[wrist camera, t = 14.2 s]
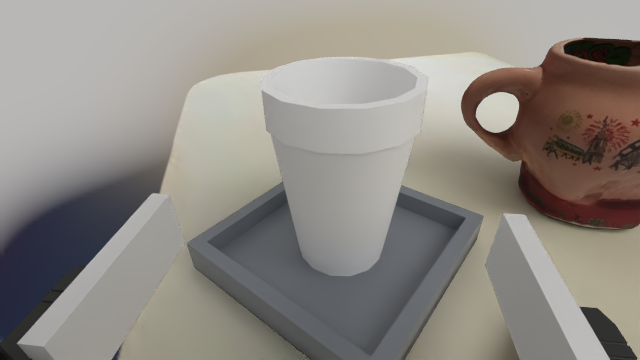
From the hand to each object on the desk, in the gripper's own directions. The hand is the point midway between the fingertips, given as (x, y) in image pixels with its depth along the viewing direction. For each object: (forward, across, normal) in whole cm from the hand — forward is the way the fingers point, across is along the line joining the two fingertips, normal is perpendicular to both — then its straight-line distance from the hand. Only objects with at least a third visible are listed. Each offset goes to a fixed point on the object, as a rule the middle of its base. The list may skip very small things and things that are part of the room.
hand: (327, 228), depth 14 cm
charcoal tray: (+9, 0, -11) cm, 14 cm away
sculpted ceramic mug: (+18, +20, -11) cm, 29 cm away
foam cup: (+9, 0, -10) cm, 13 cm away
